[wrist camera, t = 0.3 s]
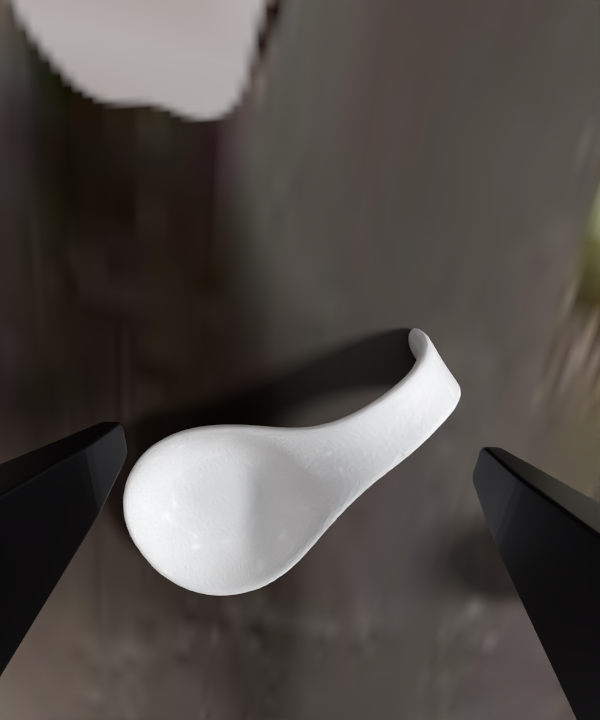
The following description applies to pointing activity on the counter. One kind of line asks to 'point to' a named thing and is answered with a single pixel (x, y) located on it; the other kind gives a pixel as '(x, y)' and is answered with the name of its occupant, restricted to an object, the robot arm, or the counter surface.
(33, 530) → the robot arm
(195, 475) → the spoon rest
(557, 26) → the counter surface
